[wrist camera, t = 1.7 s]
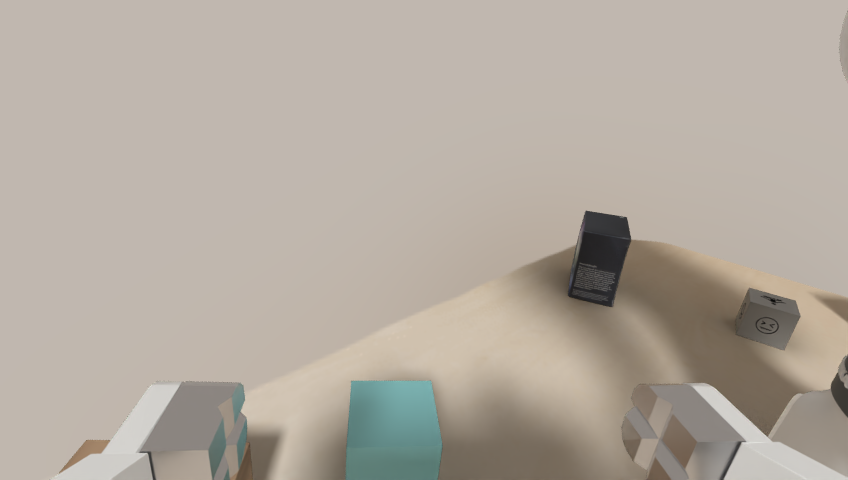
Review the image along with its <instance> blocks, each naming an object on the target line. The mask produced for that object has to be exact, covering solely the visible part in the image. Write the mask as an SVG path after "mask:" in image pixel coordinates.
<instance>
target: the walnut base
mask: <svg viewBox="0 0 848 480" xmlns="http://www.w3.org/2000/svg"><path fill="white" fill-rule="evenodd" d="M109 442H110V440H86V441H85V443H84V444H83V445H82V446H81V447H80V448H79V450H78V451H77V452H76V453H75V454H74V456H73V457H72V458H71V459H70V460H69V462H68V463H67V464H66V465H65V466H64V468H63V469H62V470H61V471H60V472H59V474H60V473H61V472H63V471H64V470H66V469H68V468H69V467H71V466H72V465H74V464H76V463H77V462H79V461H81V460H82V459H84V458H85V457H87V456H89V455H90V454H101V453H102V452H103V450H104V449H105V447H106V446H107V445H108V443H109ZM230 480H253V478H252V466H251V454H250V443H246V445H245V450H244V455H243V459H242V462H241V465H240V468H239V471H238V472H237V473H236V474H234V475H233V476H232V477H231V478H230Z"/></svg>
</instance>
